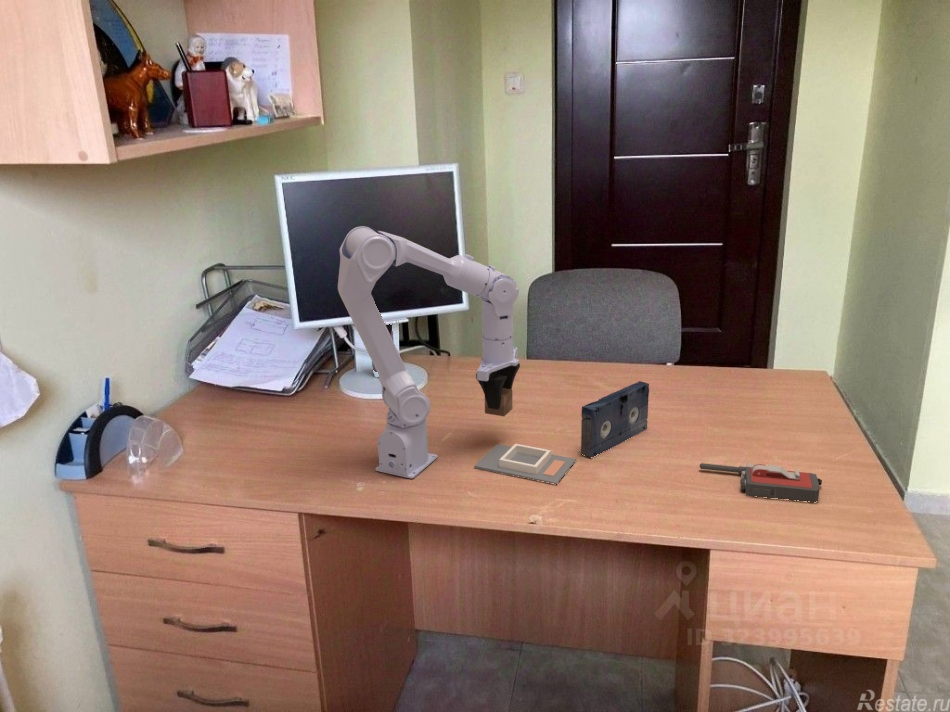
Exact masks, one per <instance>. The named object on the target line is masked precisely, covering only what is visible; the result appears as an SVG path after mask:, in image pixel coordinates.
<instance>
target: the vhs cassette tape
mask: <svg viewBox="0 0 950 712" xmlns="http://www.w3.org/2000/svg"><path fill="white" fill-rule="evenodd" d="M649 396H650V383H647V382H644V381H640V380H639V381H637V382H636V383H633V384H630V385H628V386H625V387H623V388H622V389H619V390H617V391H614V392H611V393H609V394H608V395H606V396H602V397H601V398H599V399H598V400H596V401H592V402H590V403H587V404H585V405H583V406H581V414H580V415H581V421H580V423H581V424H580V426H581V430H580V432H581V433H580V434H581V435H580V454H583V455H585V456H587V457H586V458H589V457H590V458H591V457H594V456H596V455H597V454H600V453H602V452H603V451H605V452H607V451H609V450H610V448H611V449H613V448H615V447H616V445H617V446H618V445H621V444H622V443H625V442H626V441H628V440H629V438H630V439H632V438H634V437H635V436H637V435H639V434H641V433H642V432H645V431H646V430H648V419H649V418H648V417H649V399H650V398H649ZM633 436H634V437H633ZM631 437H632V438H631ZM627 439H628V440H627ZM625 440H626V441H625ZM614 446H615V447H614ZM612 447H613V448H612ZM608 449H609V450H608ZM606 450H607V451H606ZM603 453H604V452H603ZM603 453H602V454H603ZM583 455H582V456H583ZM600 455H601V454H600ZM585 456H584V457H585ZM596 457H597V456H596ZM590 458H589V459H590ZM594 458H595V457H594Z"/></svg>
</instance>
